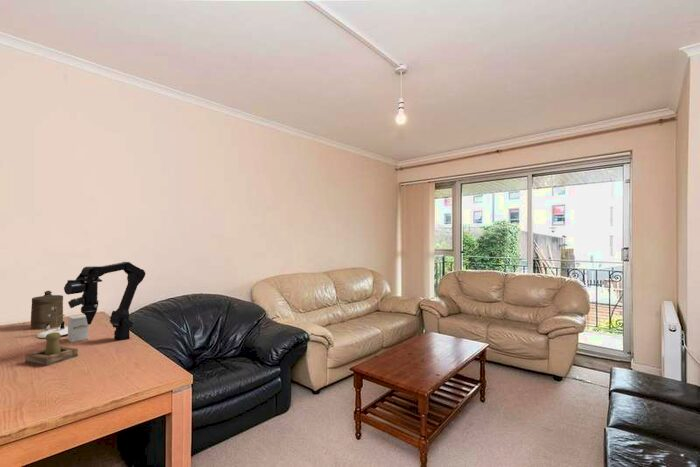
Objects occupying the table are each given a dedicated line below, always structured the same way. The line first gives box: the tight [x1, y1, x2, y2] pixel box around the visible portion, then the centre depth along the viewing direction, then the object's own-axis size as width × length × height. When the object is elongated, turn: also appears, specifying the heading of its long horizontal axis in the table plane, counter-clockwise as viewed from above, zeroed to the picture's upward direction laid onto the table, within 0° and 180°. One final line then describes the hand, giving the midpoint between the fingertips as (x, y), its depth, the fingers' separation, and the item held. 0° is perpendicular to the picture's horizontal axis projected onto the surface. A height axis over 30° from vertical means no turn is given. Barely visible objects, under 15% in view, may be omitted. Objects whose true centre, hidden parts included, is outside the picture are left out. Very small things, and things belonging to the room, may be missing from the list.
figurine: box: [36, 307, 68, 339], centre depth 193 cm, size 20×18×16 cm
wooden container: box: [30, 290, 64, 330], centre depth 208 cm, size 15×15×22 cm
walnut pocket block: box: [24, 345, 79, 367], centre depth 153 cm, size 13×13×4 cm
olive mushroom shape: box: [44, 332, 62, 356], centre depth 154 cm, size 6×6×11 cm
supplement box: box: [67, 314, 89, 343], centre depth 183 cm, size 7×7×13 cm
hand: (89, 322), depth 169 cm, fingers open, 9 cm apart
